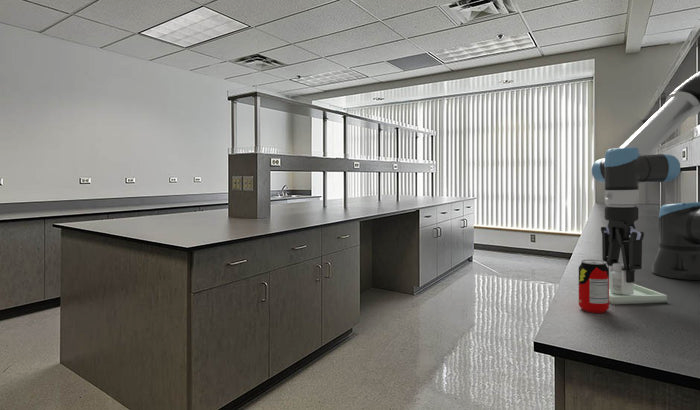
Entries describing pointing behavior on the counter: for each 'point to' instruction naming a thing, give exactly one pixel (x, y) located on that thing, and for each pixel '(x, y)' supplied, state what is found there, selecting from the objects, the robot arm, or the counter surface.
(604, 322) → the counter surface
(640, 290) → the tray
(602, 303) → the beverage can
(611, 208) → the robot arm
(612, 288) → the pill bottle
